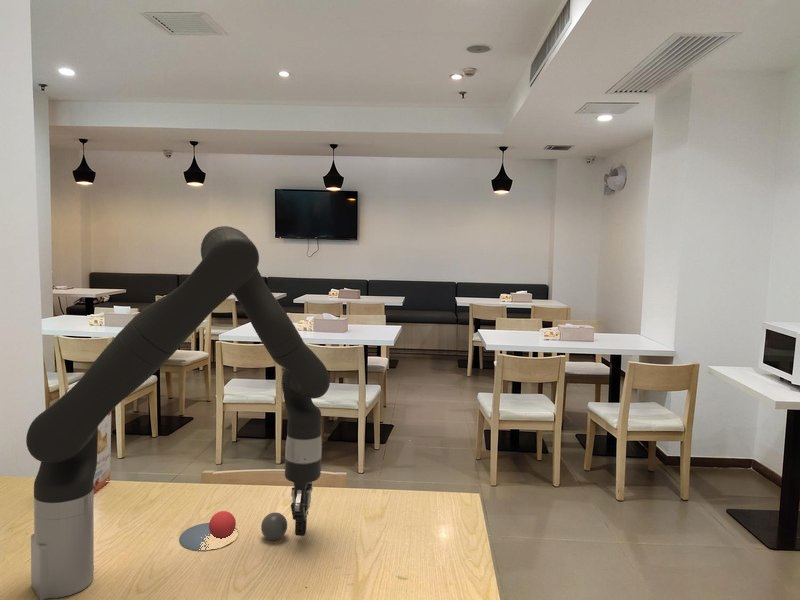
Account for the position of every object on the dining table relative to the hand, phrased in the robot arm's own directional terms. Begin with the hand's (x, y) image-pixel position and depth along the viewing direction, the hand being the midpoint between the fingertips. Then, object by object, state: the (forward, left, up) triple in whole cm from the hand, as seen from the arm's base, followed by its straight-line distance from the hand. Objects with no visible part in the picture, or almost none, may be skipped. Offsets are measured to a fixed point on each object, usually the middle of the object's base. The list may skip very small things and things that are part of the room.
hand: (300, 533), depth 125 cm
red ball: (-12, +12, +1) cm, 17 cm away
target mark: (-14, +14, -2) cm, 20 cm away
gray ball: (-4, +4, +1) cm, 6 cm away
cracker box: (-26, +52, -2) cm, 59 cm away
